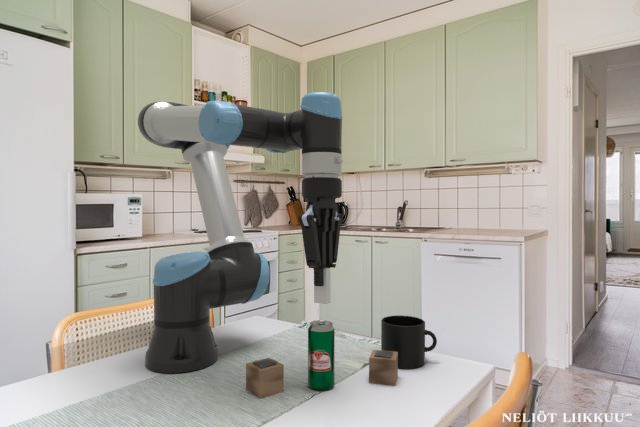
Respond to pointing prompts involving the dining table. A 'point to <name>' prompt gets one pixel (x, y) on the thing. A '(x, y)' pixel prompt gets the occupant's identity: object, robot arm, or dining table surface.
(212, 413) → the dining table surface
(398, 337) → the mug
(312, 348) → the soda can
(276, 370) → the walnut block
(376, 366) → the walnut block
